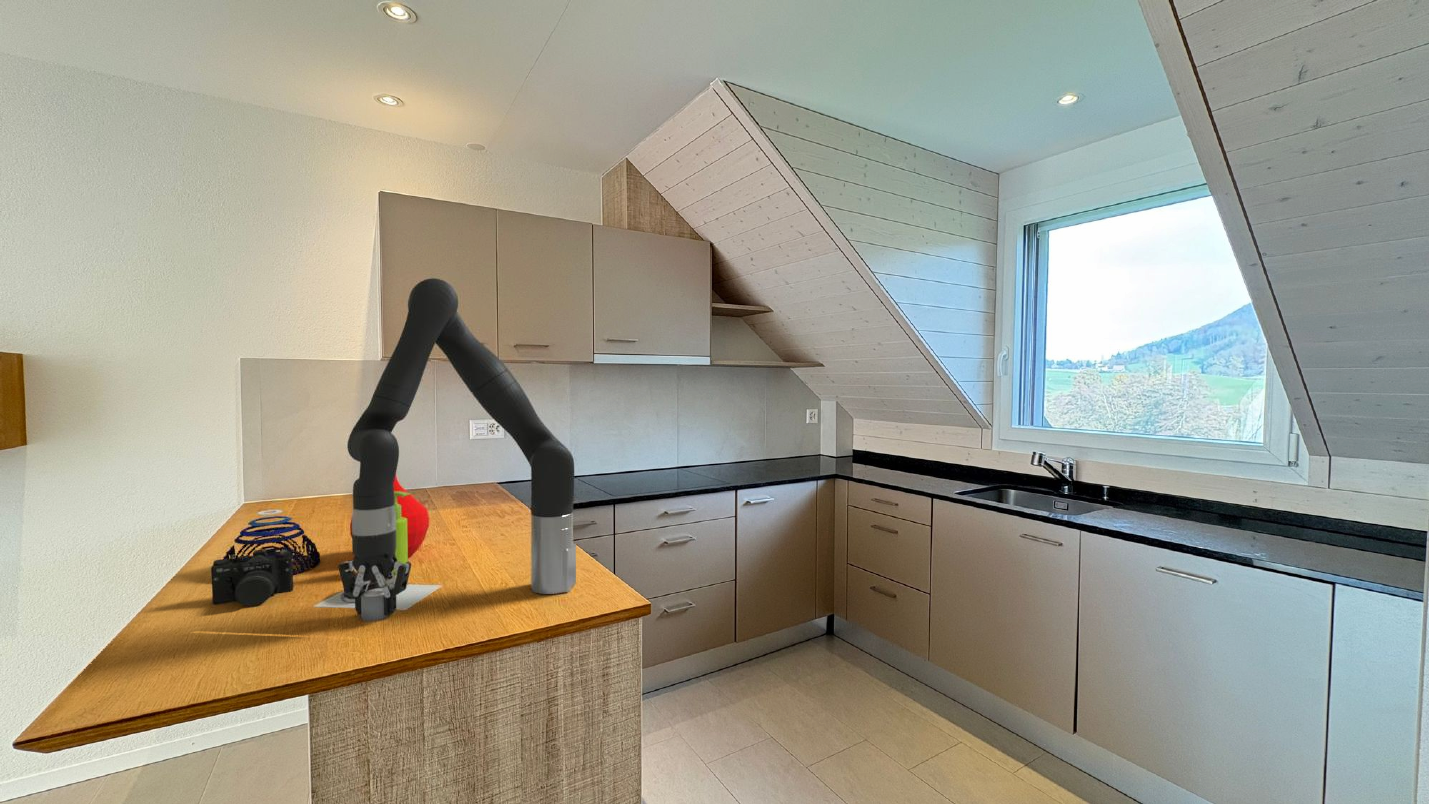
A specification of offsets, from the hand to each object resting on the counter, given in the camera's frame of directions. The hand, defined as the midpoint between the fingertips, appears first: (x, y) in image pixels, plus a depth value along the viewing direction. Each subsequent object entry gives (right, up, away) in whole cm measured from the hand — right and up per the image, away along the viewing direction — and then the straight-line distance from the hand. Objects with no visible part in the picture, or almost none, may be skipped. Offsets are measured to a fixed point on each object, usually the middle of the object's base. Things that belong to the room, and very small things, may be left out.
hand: (375, 613), depth 116 cm
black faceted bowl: (-8, 0, +12) cm, 15 cm away
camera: (-31, -1, +8) cm, 32 cm away
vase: (-18, +1, +39) cm, 43 cm away
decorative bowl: (-43, 0, +29) cm, 52 cm away
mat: (-5, 0, +11) cm, 12 cm away
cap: (0, -1, 0) cm, 1 cm away
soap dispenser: (-10, 0, +26) cm, 28 cm away
